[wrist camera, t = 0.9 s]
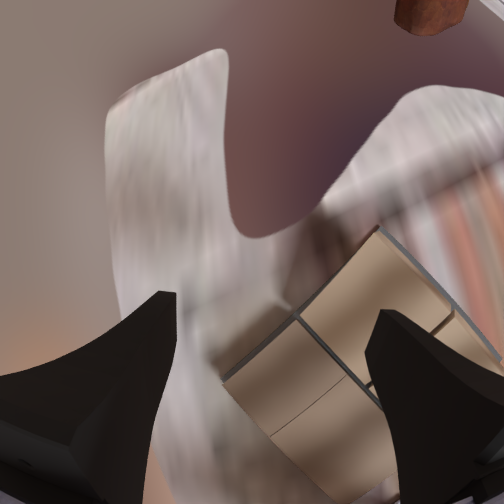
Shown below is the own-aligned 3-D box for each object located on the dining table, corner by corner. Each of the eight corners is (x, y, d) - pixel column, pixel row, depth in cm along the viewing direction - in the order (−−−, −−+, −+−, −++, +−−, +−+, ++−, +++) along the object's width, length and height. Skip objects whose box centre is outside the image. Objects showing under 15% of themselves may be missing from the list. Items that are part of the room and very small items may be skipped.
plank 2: (508, 375, 15) (511, 387, 14) (427, 433, 19) (424, 447, 18) (454, 308, 18) (454, 317, 16) (374, 377, 22) (368, 388, 20)
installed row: (415, 443, 20) (420, 451, 18) (342, 498, 20) (342, 508, 18) (298, 319, 24) (296, 319, 23) (229, 381, 25) (221, 384, 23)
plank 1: (450, 304, 18) (450, 312, 16) (371, 373, 22) (365, 384, 20) (379, 230, 20) (373, 233, 19) (309, 308, 24) (299, 315, 23)
